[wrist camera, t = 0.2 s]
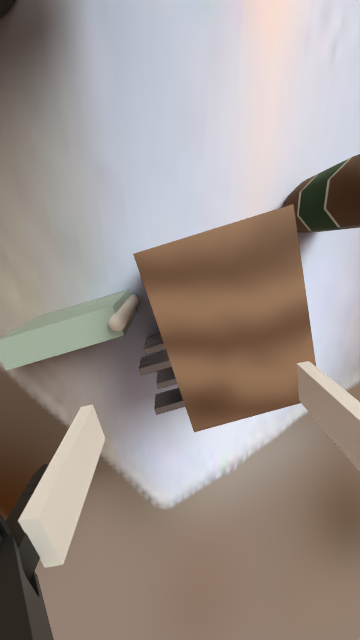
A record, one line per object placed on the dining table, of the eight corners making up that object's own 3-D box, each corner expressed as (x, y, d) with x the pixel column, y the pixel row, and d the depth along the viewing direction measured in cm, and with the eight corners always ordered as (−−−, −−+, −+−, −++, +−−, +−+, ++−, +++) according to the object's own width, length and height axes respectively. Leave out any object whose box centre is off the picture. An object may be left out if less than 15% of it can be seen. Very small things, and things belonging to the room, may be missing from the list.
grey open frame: (146, 338, 43) (138, 370, 31) (178, 328, 43) (182, 358, 31) (159, 373, 45) (156, 416, 34) (190, 365, 45) (197, 405, 33)
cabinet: (151, 250, 39) (133, 253, 18) (227, 227, 38) (293, 204, 18) (182, 346, 44) (194, 432, 23) (249, 327, 43) (320, 397, 23)
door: (40, 316, 41) (-16, 346, 29) (134, 287, 40) (118, 305, 28) (53, 343, 42) (5, 382, 30) (144, 315, 42) (134, 344, 29)
